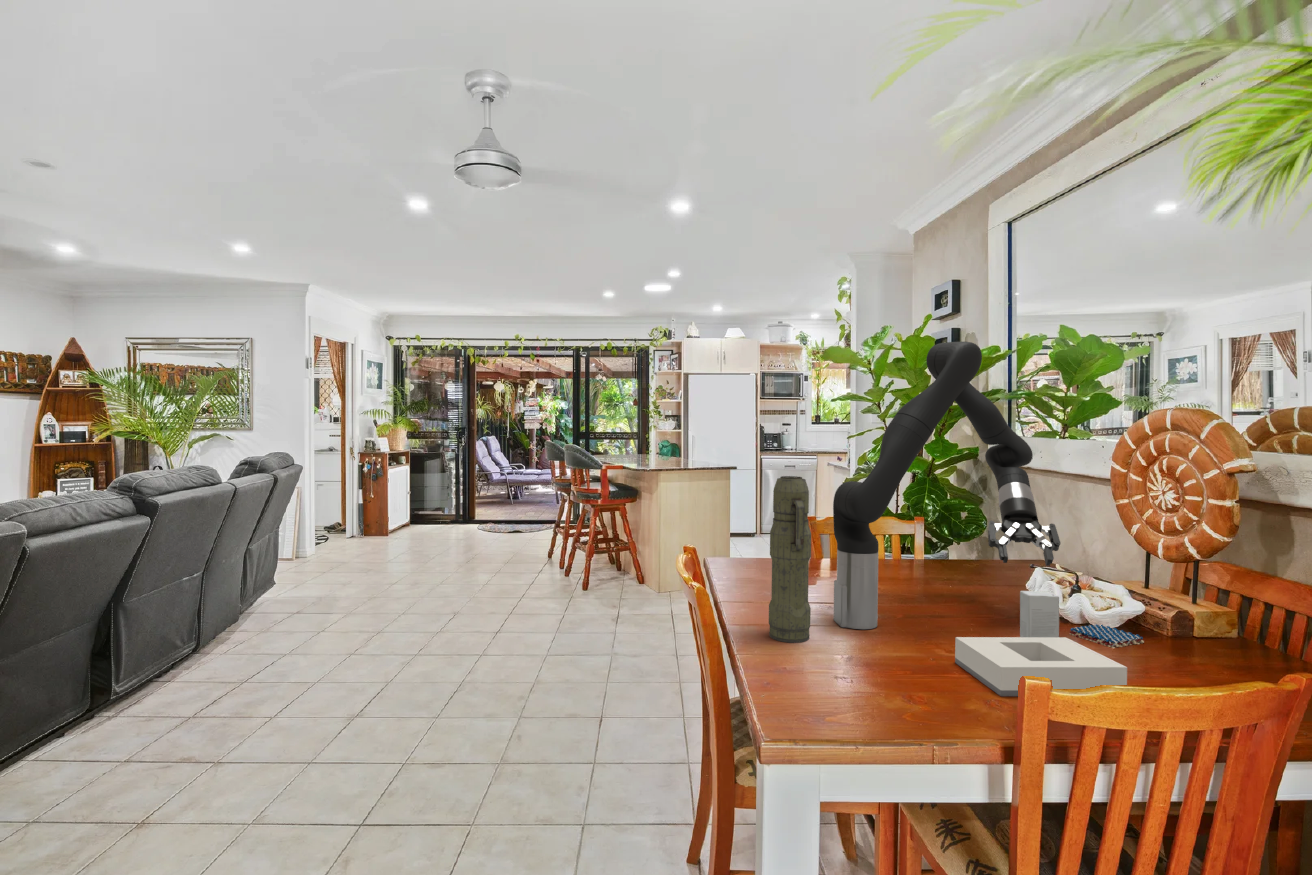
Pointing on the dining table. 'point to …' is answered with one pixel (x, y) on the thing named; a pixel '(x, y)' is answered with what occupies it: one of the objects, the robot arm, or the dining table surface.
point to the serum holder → (1035, 663)
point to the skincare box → (1039, 614)
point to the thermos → (790, 561)
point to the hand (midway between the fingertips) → (1027, 562)
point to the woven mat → (1106, 636)
